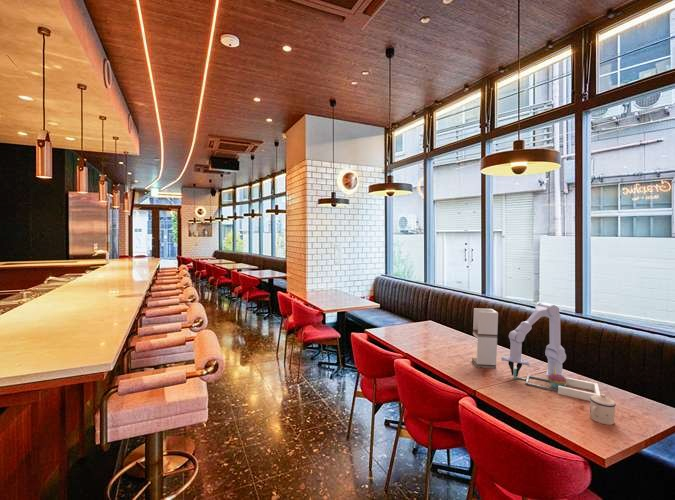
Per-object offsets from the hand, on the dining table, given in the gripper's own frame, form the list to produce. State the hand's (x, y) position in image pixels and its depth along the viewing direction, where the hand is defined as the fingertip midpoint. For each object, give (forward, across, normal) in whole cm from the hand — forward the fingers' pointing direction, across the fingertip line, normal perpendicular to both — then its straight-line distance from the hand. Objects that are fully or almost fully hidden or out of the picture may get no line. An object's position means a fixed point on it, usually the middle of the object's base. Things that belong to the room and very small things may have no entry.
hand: (514, 375), depth 196 cm
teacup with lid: (+2, +37, -28) cm, 47 cm away
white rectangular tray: (+2, +29, 0) cm, 29 cm away
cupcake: (+2, +20, 0) cm, 21 cm away
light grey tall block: (+2, -19, +12) cm, 22 cm away
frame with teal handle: (+2, +12, 0) cm, 12 cm away
